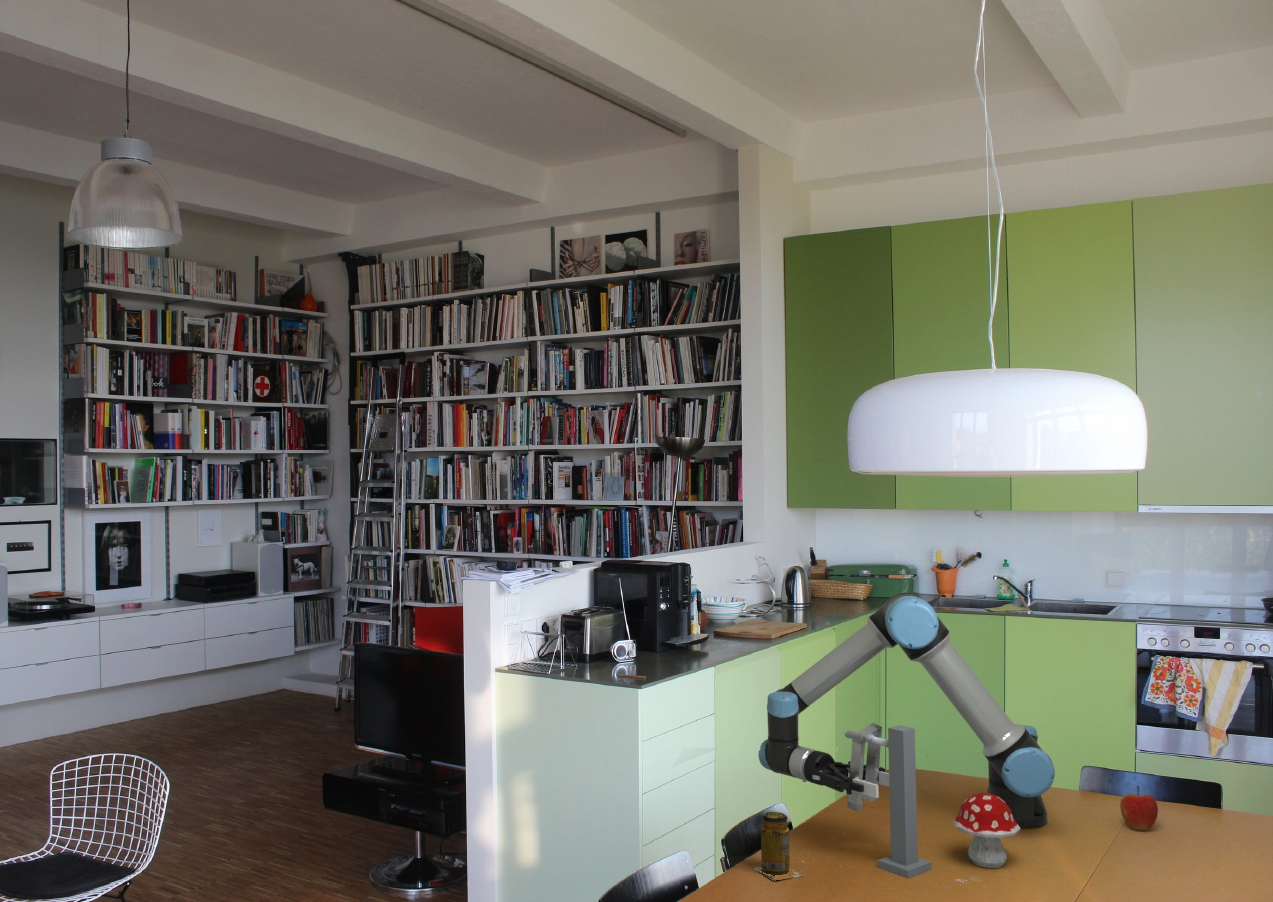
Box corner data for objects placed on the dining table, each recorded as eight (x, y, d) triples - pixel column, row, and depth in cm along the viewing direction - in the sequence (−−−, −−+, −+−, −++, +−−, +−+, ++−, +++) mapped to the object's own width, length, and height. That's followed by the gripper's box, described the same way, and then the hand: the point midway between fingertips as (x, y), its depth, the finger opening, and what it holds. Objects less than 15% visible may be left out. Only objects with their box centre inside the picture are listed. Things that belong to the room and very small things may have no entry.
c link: (867, 793, 228) (872, 722, 224) (876, 798, 226) (882, 726, 222) (847, 807, 222) (852, 734, 218) (856, 811, 221) (861, 738, 217)
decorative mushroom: (941, 861, 217) (939, 792, 218) (978, 847, 226) (976, 780, 226) (998, 880, 206) (995, 807, 207) (1034, 864, 215) (1032, 794, 215)
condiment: (780, 863, 217) (779, 808, 218) (802, 876, 210) (801, 819, 210) (752, 869, 214) (751, 812, 215) (774, 882, 207) (773, 824, 207)
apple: (1122, 832, 234) (1120, 789, 235) (1119, 822, 242) (1118, 780, 242) (1160, 836, 231) (1158, 793, 232) (1156, 825, 239) (1155, 784, 239)
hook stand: (931, 868, 213) (928, 728, 214) (908, 877, 208) (905, 734, 209) (859, 844, 229) (856, 713, 230) (836, 852, 224) (833, 718, 225)
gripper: (842, 774, 241) (920, 795, 223) (782, 790, 228) (859, 814, 210) (842, 743, 242) (919, 761, 224) (781, 757, 229) (858, 778, 211)
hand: (890, 787), depth 217 cm, fingers closed on c link, 8 cm apart
